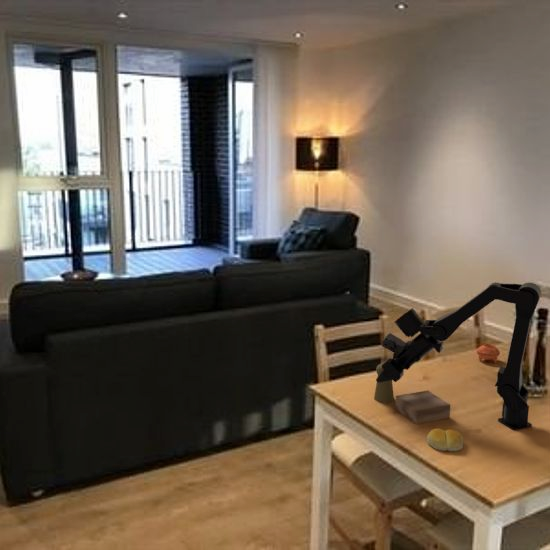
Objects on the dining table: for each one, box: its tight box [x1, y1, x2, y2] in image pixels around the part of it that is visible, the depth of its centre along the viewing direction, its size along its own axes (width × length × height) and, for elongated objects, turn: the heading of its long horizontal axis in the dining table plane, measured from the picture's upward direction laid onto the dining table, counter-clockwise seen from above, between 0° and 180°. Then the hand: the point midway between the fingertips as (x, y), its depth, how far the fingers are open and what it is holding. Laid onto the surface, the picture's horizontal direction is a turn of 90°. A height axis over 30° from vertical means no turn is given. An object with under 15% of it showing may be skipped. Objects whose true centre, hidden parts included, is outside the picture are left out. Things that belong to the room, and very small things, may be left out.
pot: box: [476, 343, 501, 363], centre depth 214 cm, size 8×8×7 cm
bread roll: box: [426, 427, 464, 452], centre depth 153 cm, size 8×9×4 cm
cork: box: [373, 363, 395, 404], centre depth 181 cm, size 6×6×11 cm
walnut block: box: [395, 390, 451, 425], centre depth 172 cm, size 11×11×4 cm
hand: (380, 377), depth 182 cm, fingers open, 6 cm apart
